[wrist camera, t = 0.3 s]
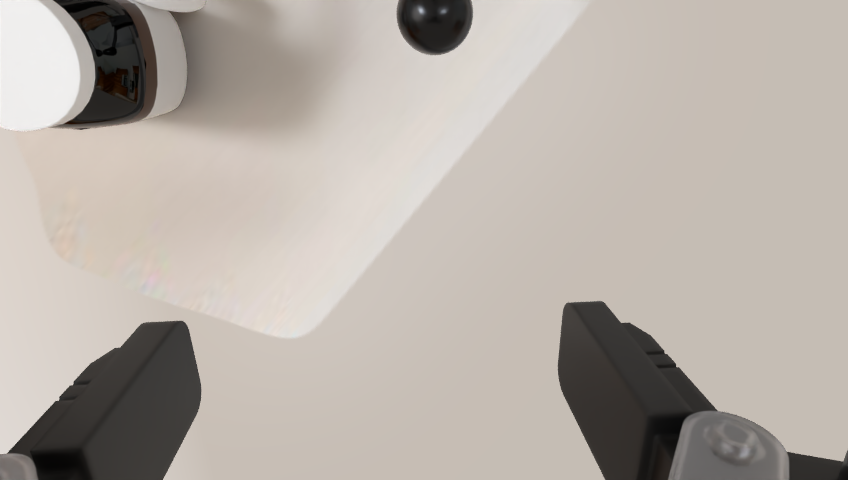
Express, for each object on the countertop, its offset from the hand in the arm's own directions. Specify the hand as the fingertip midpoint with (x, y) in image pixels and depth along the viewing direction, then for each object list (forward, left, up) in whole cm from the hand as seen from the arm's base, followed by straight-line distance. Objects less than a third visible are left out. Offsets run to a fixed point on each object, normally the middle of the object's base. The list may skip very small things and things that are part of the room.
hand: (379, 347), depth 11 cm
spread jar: (-7, -17, -29) cm, 34 cm away
